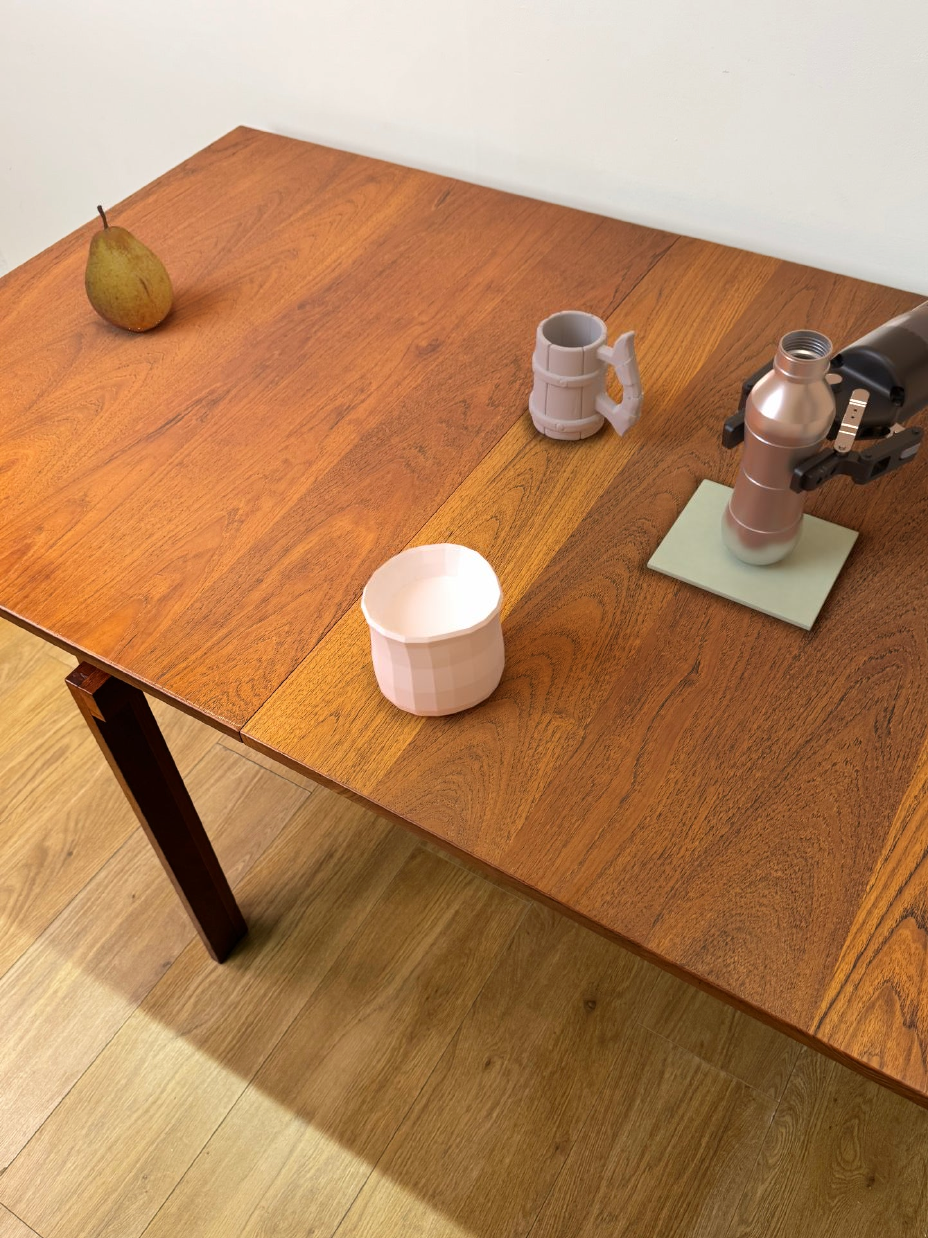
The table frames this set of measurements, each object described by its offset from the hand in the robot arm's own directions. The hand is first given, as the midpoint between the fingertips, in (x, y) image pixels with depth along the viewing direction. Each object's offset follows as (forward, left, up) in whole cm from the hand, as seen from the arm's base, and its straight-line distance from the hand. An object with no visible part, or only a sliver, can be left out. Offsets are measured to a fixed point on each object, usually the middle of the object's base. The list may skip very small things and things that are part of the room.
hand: (759, 459), depth 75 cm
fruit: (+71, -3, -12) cm, 72 cm away
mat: (-1, -2, -11) cm, 12 cm away
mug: (+19, -10, -12) cm, 25 cm away
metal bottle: (-1, -2, -11) cm, 11 cm away
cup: (+15, +22, -12) cm, 29 cm away
